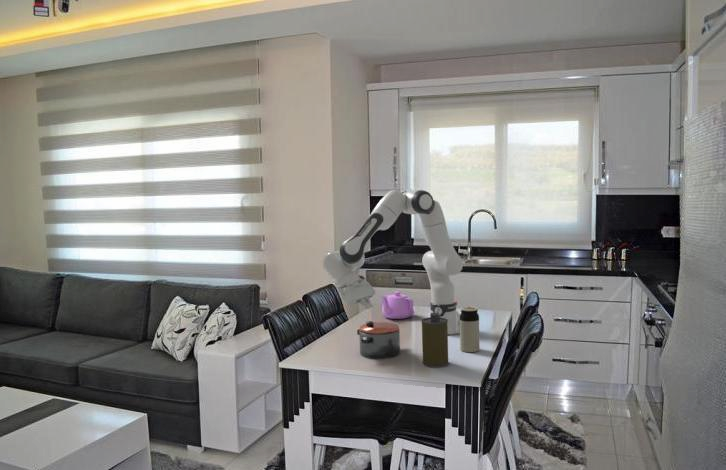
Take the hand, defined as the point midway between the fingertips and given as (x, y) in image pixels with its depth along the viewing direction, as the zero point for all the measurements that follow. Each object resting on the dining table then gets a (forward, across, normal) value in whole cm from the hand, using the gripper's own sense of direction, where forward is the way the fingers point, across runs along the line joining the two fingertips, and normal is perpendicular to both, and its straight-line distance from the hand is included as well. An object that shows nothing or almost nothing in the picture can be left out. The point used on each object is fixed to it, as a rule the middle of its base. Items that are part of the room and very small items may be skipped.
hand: (370, 307), depth 236 cm
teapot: (0, +62, +28) cm, 68 cm away
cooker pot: (+16, 0, +11) cm, 19 cm away
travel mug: (+40, +19, -12) cm, 46 cm away
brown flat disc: (+9, 0, +4) cm, 10 cm away
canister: (+36, -4, -8) cm, 37 cm away
